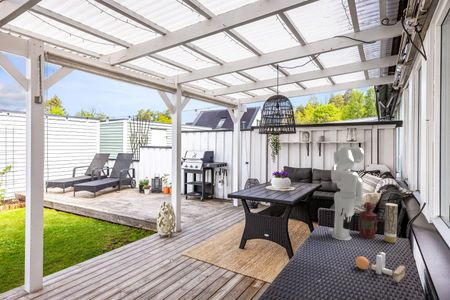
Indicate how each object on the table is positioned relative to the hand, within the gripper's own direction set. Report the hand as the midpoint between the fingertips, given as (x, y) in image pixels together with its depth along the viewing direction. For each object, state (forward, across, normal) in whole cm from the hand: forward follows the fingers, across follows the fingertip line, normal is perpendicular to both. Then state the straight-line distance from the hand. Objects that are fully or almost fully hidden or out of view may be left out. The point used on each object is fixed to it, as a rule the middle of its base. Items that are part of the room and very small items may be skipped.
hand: (346, 228), depth 140 cm
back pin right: (+17, +2, +17) cm, 24 cm away
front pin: (+16, 0, +13) cm, 21 cm away
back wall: (+17, 0, +25) cm, 30 cm away
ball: (+14, +4, +10) cm, 18 cm away
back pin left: (+17, -2, +17) cm, 24 cm away
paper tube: (+17, -56, +7) cm, 59 cm away
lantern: (+17, -55, -7) cm, 58 cm away
